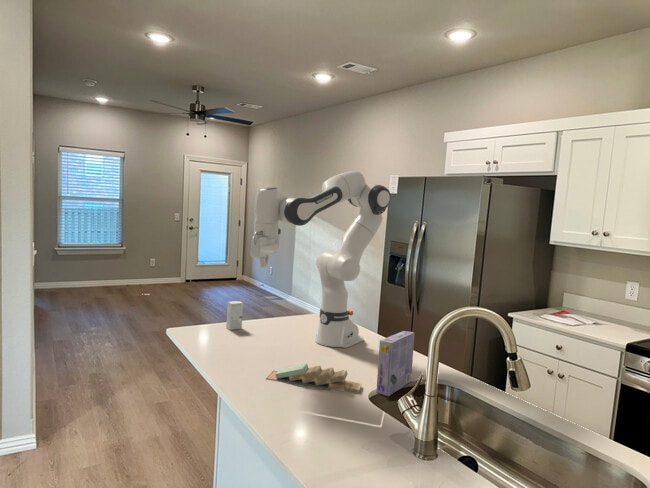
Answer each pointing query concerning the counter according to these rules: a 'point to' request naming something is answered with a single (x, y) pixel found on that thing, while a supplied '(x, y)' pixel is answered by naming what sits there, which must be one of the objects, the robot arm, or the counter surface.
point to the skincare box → (234, 315)
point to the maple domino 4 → (345, 386)
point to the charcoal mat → (296, 382)
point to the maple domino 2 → (320, 376)
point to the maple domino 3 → (333, 378)
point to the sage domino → (291, 371)
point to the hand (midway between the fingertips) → (263, 266)
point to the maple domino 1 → (307, 373)
